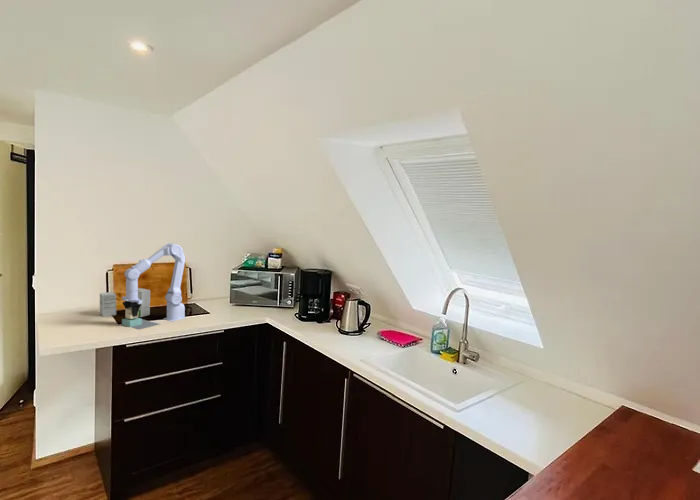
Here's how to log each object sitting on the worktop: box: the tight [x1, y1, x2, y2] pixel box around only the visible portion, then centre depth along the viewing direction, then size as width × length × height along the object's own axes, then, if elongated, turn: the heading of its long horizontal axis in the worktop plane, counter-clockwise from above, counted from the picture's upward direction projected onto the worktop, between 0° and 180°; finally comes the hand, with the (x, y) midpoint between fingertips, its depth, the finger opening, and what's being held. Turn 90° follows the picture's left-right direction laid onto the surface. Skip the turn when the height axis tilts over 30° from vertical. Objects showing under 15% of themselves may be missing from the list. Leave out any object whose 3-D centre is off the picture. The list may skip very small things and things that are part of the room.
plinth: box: [121, 317, 143, 328], centre depth 230 cm, size 7×7×3 cm
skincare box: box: [138, 287, 151, 318], centre depth 249 cm, size 8×7×16 cm
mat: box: [120, 318, 161, 330], centre depth 231 cm, size 13×16×1 cm
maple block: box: [124, 308, 139, 319], centre depth 229 cm, size 4×4×5 cm
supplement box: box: [99, 291, 117, 317], centre depth 248 cm, size 7×7×13 cm
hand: (132, 315), depth 230 cm, fingers closed on maple block, 4 cm apart
